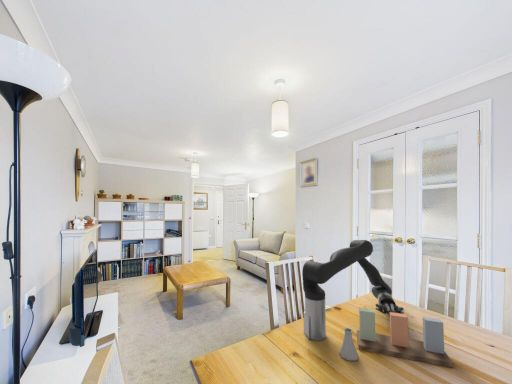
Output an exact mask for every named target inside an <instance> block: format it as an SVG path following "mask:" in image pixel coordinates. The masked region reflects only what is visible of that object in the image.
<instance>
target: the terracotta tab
mask: <svg viewBox="0 0 512 384" xmlns="http://www.w3.org/2000/svg"><path fill="white" fill-rule="evenodd" d="M408 318H409V317H408V316H407V314H406V313H403V314H400V313H393V312H390V317H389V336H390V341H391V344H392V345H396V346H402V347H407V348H409V346H408V339H409V323H408V322H409V320H408Z"/></svg>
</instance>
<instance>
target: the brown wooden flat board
mask: <svg viewBox="0 0 512 384" xmlns="http://www.w3.org/2000/svg"><path fill="white" fill-rule="evenodd" d="M375 335H376V342H374V341H369V340H363V339H360V329H359V330H358V329H356V339H357V347H358V350H360V351H366V352H370V353H376V354H381V355H385V356H391V357H397V358H401V359H407V360H411V361H415V362H417V361H418V362H421V363H426V364H427V363H428V364H431V365H437V366H442V367H446V368H452V369H453V367H454V365H453V364H454V363H453V361H452V360H451V358H450V357H449V355H448V353H447V352H446V351H445V350H444V354H440V353H435V352H429V351H426V350H425V348H424V342H423V341H422V340H418V339H411V338H408V346H409V348H407V347H402V346H396V345H392V344H391V341H390V335H387V334H382V333H381V334H380V333H377V332H375Z"/></svg>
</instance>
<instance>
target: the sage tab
mask: <svg viewBox="0 0 512 384" xmlns="http://www.w3.org/2000/svg"><path fill="white" fill-rule="evenodd" d="M358 312H359V313H358V315H359V316H358V321H359V331H360V339H363V340H369V341H374V342H376V335H375V333H376V312H375V310H374V309H371V308H363V307H359V309H358Z"/></svg>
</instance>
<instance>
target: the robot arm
mask: <svg viewBox="0 0 512 384" xmlns="http://www.w3.org/2000/svg"><path fill="white" fill-rule="evenodd" d="M373 251H374V246H373V244H372V242H371V241H369V240H367V239H354V240H351V241H350V242H349V246H348V247H345V248H340V249H338V250H336V251H334V252H332V253H331V255H330V257H329V261H327V262H318V261H315V260H307V261H305V262H304V264H303V266H302V273H301V275H302V289H303V292H304V311H303V333H304V335H305V336H306V337H307V339H308V340H313V341H322V340H325V339H326V336H327V330H326V329H327V328H326V327H327V326H326V318H327V317H326V292H325V290H324V289H323V288H322V287H321V286H320V285H323V284H325V283H327V282H328V281H330V279H331V278H332V277H334V276H335V275H337V274H338V273H339V272H342V271H343V270H345V269H347V268H348V267H350V266H351V265H353V264H355V263H358V264H359V266H360V267H361V268H362V269H363V271H364V273H365V274H366V277H367V278H368V280H369V283H370V284H371V285H372V288H371V293H372V296H374V298H375V299H376V300H377V302H378V303H376V304H375V310H376V311H378V312H380V313H381V314H383V315H388V318H390V312H393V313H400V314H405V312H404V307H401V306H400V307H399V306H398V305H397V304H396V302H395V300H394V298H393V296H392V293H393V290H392V288H391V287H390V286H389V284H388V283H386V281H384V279H383V277H382V276H381V273H380V272H379V269H378V268H377V267H376V266H374V264H372V263H371V262H370V261H369V260H368V259H367V257H370V256H371V255H372V253H373Z"/></svg>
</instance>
